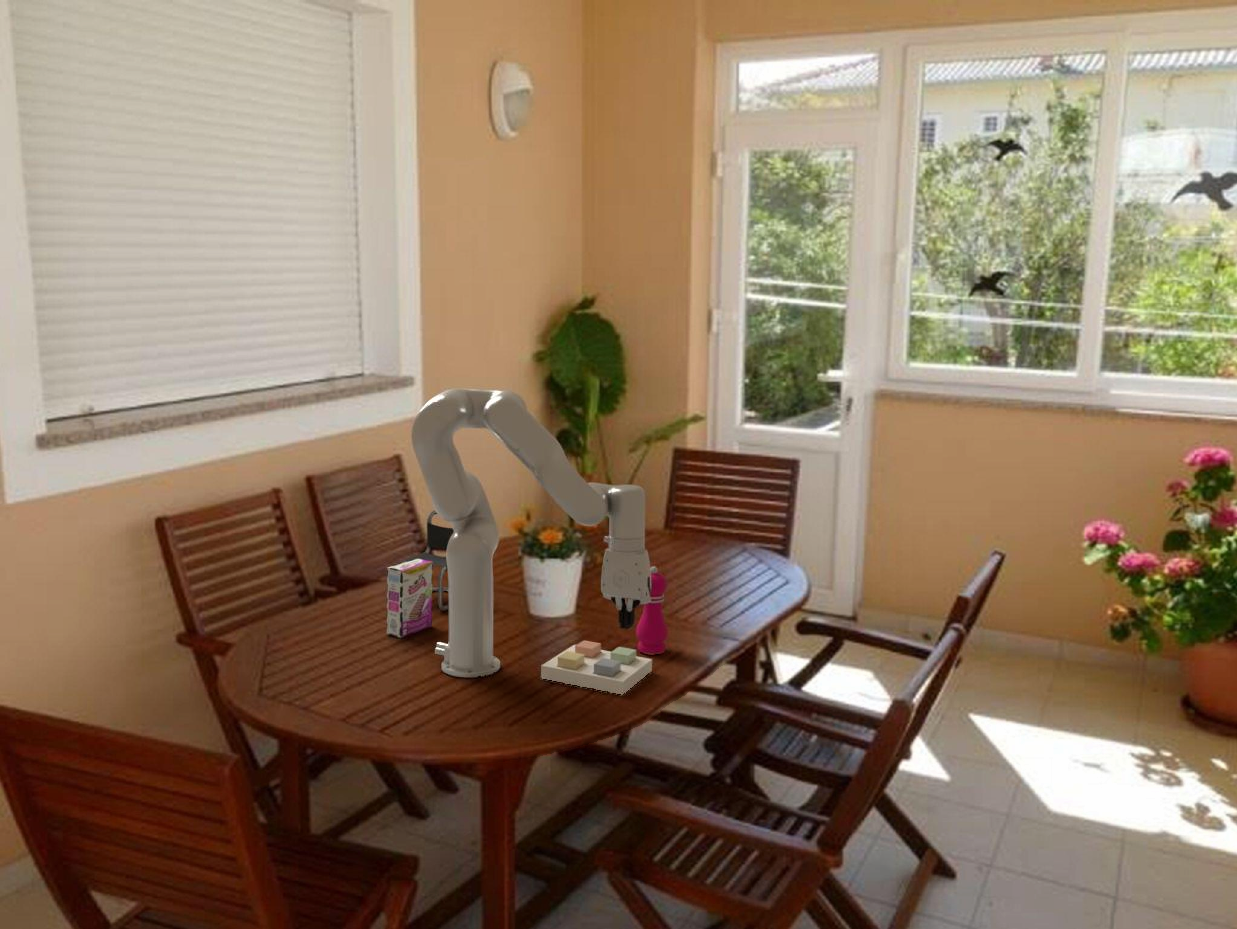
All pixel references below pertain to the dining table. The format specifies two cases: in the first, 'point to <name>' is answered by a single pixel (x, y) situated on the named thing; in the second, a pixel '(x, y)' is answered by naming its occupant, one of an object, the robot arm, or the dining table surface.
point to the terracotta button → (588, 649)
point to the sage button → (623, 655)
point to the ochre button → (571, 660)
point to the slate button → (607, 667)
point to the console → (591, 680)
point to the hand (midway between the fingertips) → (626, 626)
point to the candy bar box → (409, 597)
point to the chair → (439, 540)
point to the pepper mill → (653, 617)
